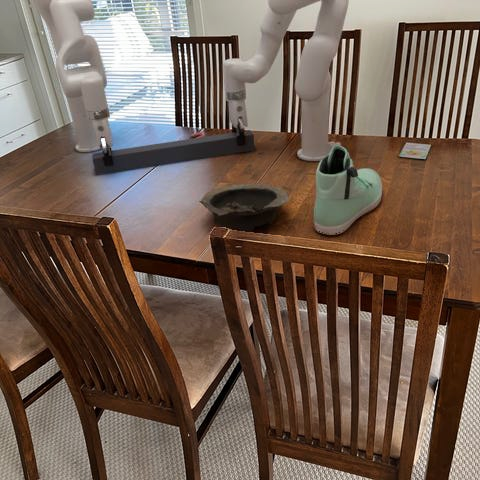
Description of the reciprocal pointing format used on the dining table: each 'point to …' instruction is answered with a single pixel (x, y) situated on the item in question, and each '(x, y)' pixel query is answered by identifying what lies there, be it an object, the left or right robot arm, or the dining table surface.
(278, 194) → the stone bowl
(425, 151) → the baking ingredient package
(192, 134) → the red elongated piece
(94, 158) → the beam
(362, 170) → the sneaker
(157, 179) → the dining table surface
